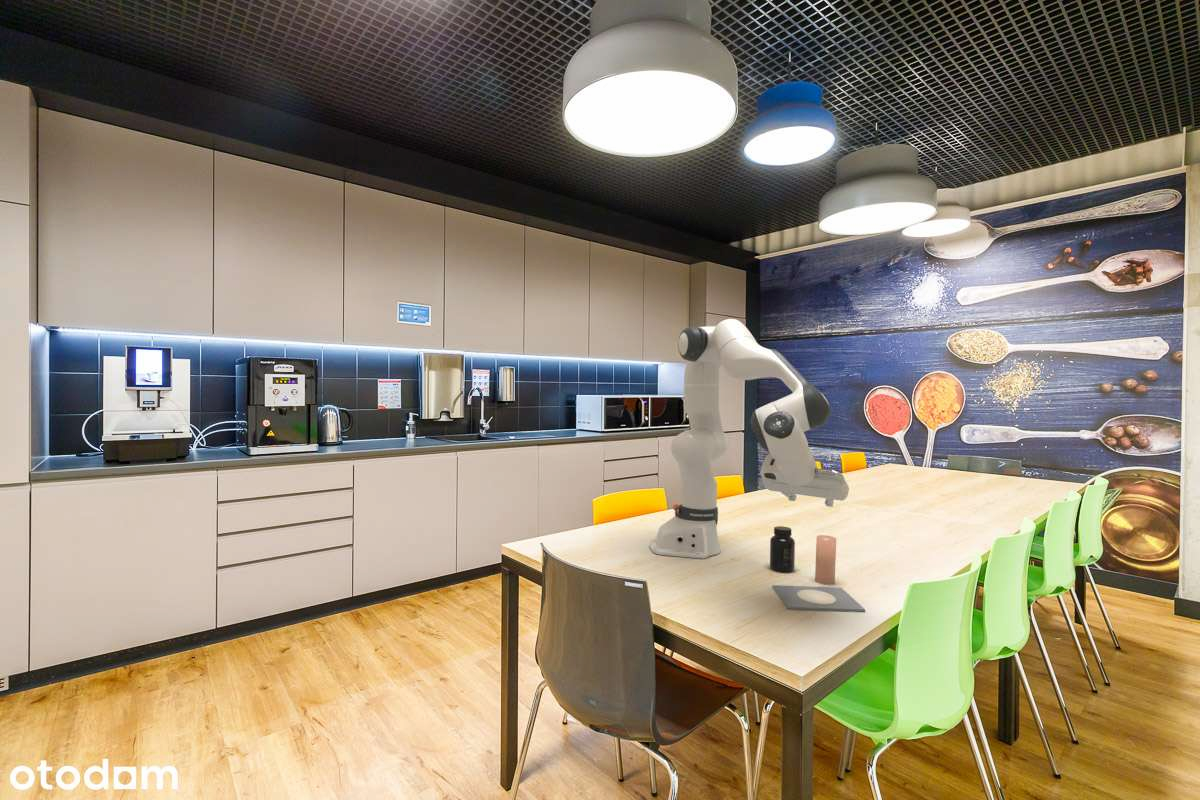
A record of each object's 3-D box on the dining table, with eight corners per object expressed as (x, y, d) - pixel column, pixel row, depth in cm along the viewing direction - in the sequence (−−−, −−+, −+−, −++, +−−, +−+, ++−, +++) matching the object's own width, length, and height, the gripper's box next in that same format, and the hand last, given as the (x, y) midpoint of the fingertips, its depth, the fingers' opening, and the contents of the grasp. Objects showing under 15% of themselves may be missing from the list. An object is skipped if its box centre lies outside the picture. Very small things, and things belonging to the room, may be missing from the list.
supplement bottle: (794, 567, 161) (795, 526, 161) (794, 574, 155) (795, 532, 154) (769, 563, 163) (771, 524, 163) (768, 571, 157) (770, 529, 157)
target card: (788, 609, 130) (788, 606, 130) (772, 587, 144) (772, 584, 144) (865, 612, 130) (865, 609, 130) (841, 589, 144) (841, 587, 144)
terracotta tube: (818, 584, 147) (820, 540, 147) (812, 577, 152) (813, 535, 152) (837, 585, 147) (839, 540, 147) (830, 578, 152) (832, 535, 152)
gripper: (845, 461, 127) (857, 497, 134) (761, 453, 140) (777, 486, 148) (838, 483, 124) (851, 518, 131) (753, 472, 137) (769, 505, 145)
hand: (811, 501), depth 140 cm, fingers open, 8 cm apart
